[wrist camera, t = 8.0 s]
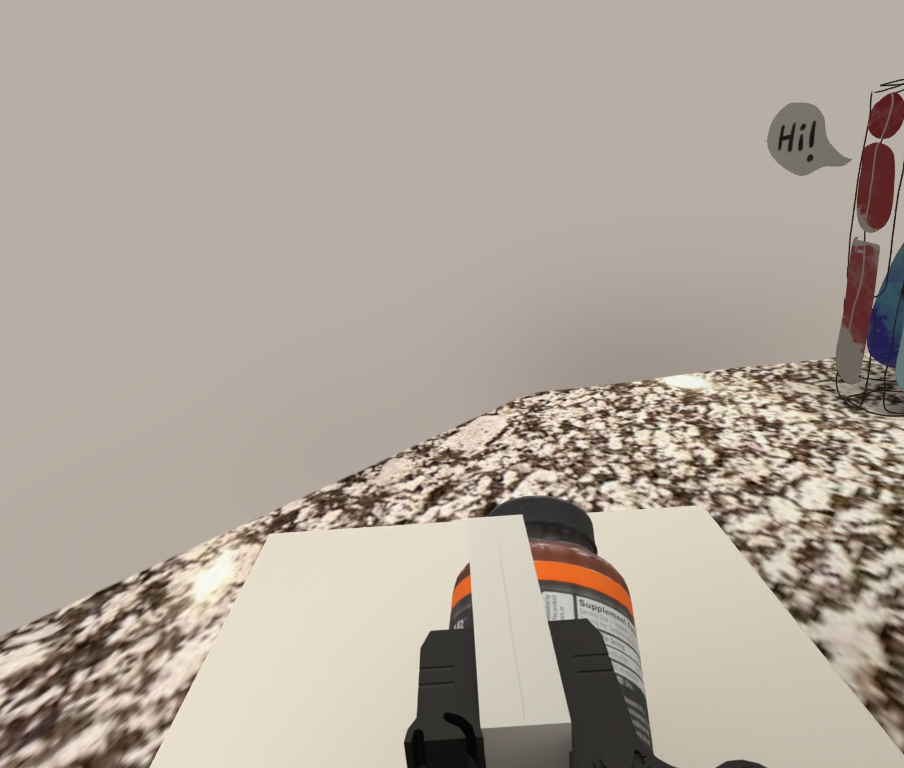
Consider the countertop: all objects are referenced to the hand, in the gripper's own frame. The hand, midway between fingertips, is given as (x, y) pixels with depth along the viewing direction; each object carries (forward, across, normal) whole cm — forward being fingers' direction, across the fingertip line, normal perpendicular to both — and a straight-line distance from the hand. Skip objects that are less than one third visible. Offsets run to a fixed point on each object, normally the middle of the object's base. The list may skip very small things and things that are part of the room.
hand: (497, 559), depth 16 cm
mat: (+7, 0, -10) cm, 12 cm away
